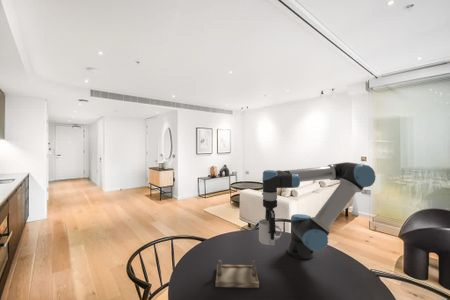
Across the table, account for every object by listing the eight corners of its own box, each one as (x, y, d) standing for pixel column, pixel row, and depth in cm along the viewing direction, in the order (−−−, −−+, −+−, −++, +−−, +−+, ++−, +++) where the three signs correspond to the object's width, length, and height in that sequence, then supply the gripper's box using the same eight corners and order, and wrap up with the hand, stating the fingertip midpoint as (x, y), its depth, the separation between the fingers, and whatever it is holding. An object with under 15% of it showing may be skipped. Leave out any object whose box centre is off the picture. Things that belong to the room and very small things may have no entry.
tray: (255, 269, 108) (255, 254, 108) (258, 287, 94) (259, 270, 94) (217, 268, 109) (217, 253, 109) (215, 286, 95) (215, 269, 95)
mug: (282, 246, 106) (282, 225, 105) (259, 245, 107) (259, 224, 107) (280, 238, 114) (280, 219, 114) (258, 237, 116) (258, 218, 116)
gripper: (259, 194, 121) (260, 232, 122) (266, 204, 100) (266, 250, 100) (272, 194, 121) (273, 232, 121) (281, 204, 100) (282, 250, 100)
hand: (270, 240), depth 111 cm, fingers closed on mug, 9 cm apart
